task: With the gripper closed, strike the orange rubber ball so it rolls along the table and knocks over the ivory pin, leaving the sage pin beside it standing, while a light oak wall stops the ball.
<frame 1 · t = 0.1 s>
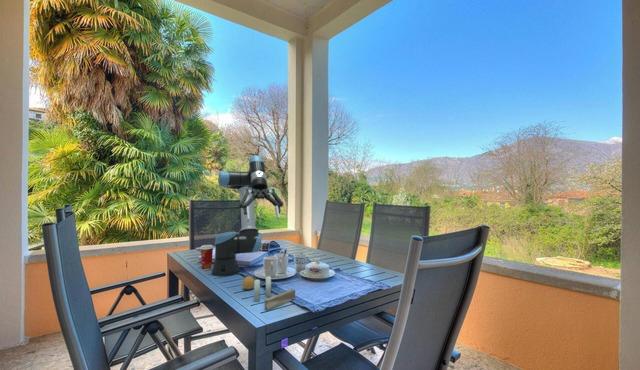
hand: (263, 219, 128), 36 cm above the table, tool tilted 35°, fingers open, 13 cm apart
ball: (248, 282, 140), on the table
paper cup: (206, 268, 175), on the table
sage pin: (256, 300, 126), on the table
back wall: (280, 303, 122), on the table
ivory pin: (268, 296, 131), on the table
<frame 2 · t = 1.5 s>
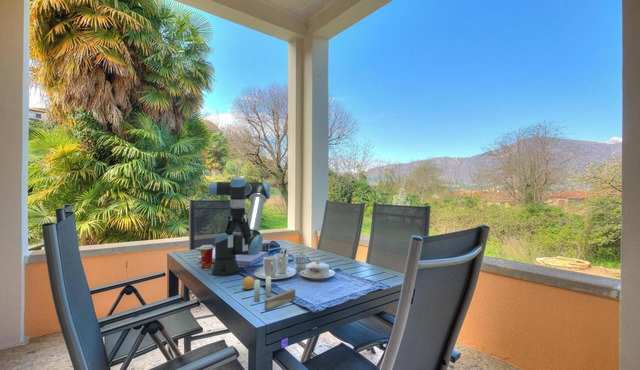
hand: (237, 249, 146), 18 cm above the table, tool pointing down, fingers open, 12 cm apart
nothing on the table moved.
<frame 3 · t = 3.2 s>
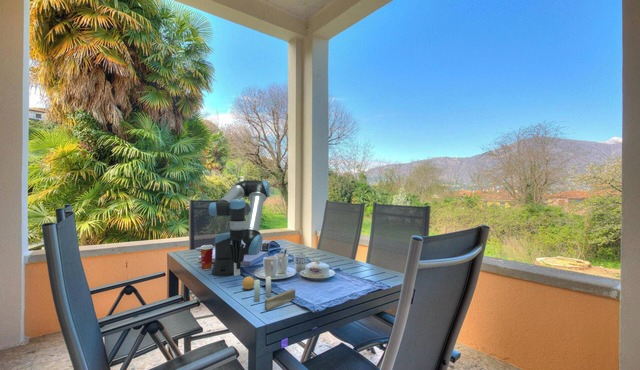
hand: (237, 274, 146), 5 cm above the table, tool pointing down, fingers closed
nothing on the table moved.
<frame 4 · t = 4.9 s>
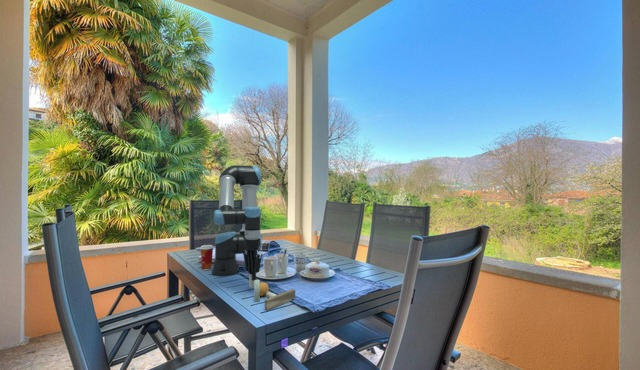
hand: (252, 286, 138), 2 cm above the table, tool pointing down, fingers closed
ball: (262, 288, 132), on the table
ivory pin: (267, 294, 131), point 1 cm above the table, tilted 90°
everything else where it was.
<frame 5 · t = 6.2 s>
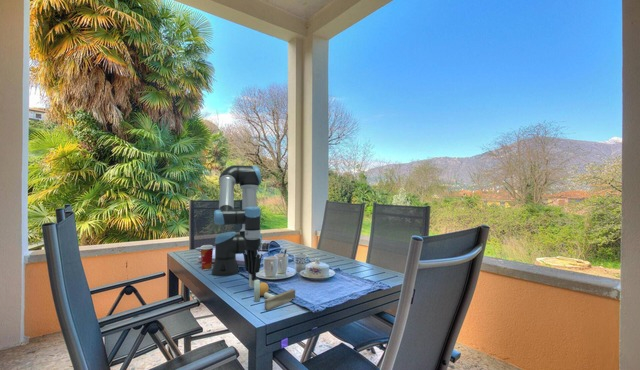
hand: (252, 286, 138), 2 cm above the table, tool pointing down, fingers closed
ivory pin: (265, 294, 130), point 1 cm above the table, tilted 90°
everything else where it was.
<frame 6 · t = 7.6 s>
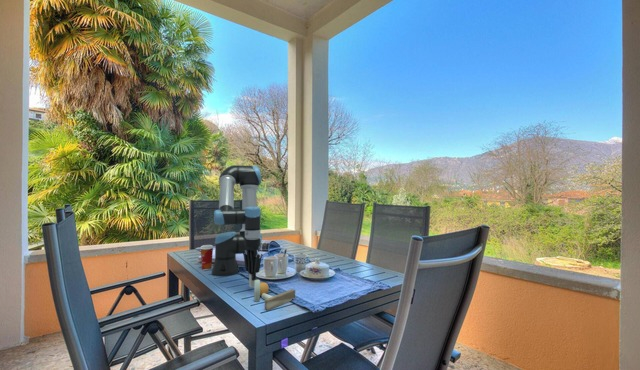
hand: (252, 286, 138), 2 cm above the table, tool pointing down, fingers closed
ivory pin: (263, 295, 129), point 1 cm above the table, tilted 90°
everything else where it was.
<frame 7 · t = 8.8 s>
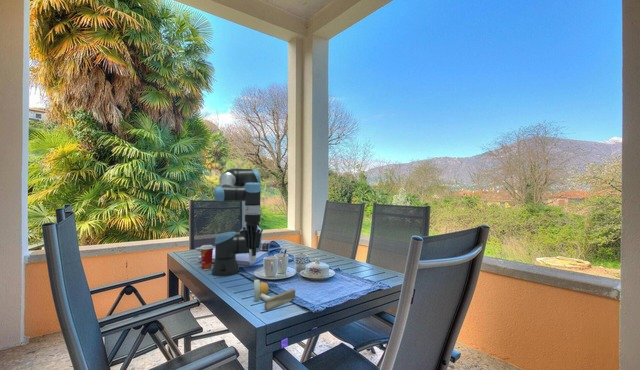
hand: (252, 262, 138), 14 cm above the table, tool pointing down, fingers closed
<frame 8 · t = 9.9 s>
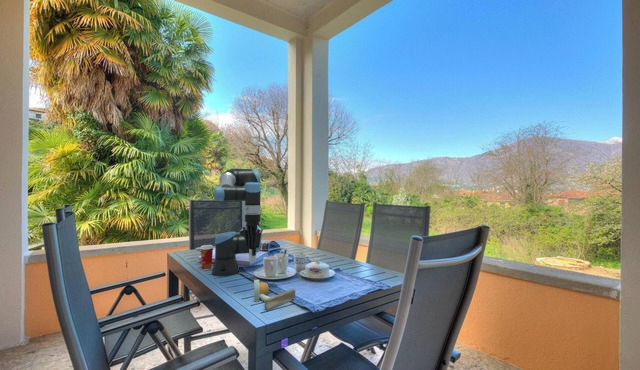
hand: (252, 261, 138), 14 cm above the table, tool pointing down, fingers closed
at the end: ivory pin tilted 90°; ivory pin never touched the robot; ball moved 11.8 cm from its start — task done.
